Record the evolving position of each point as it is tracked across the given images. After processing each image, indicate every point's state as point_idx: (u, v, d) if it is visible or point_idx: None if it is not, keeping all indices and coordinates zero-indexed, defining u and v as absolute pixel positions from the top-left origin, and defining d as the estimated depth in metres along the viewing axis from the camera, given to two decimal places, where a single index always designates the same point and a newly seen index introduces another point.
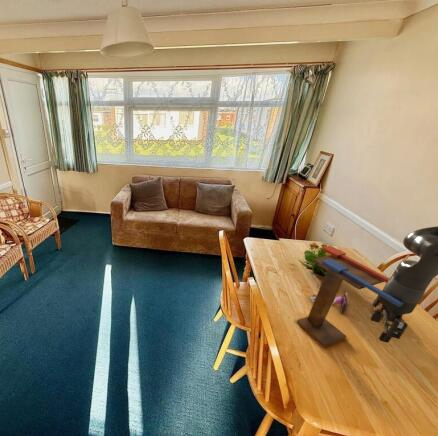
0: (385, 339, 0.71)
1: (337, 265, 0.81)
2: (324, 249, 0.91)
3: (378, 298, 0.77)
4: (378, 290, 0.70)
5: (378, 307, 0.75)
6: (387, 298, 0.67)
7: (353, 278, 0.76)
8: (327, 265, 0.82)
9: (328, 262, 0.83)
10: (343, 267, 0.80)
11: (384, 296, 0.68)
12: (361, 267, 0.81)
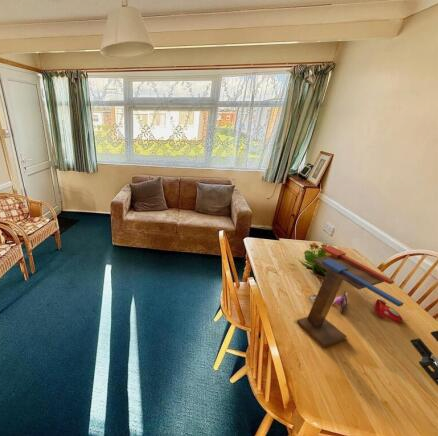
0: (418, 347, 0.59)
1: (337, 265, 0.81)
2: (324, 249, 0.91)
3: None
4: (378, 290, 0.70)
5: None
6: (387, 298, 0.67)
7: (353, 278, 0.76)
8: (327, 265, 0.82)
9: (328, 262, 0.83)
10: (343, 267, 0.80)
11: (384, 296, 0.68)
12: (361, 267, 0.81)
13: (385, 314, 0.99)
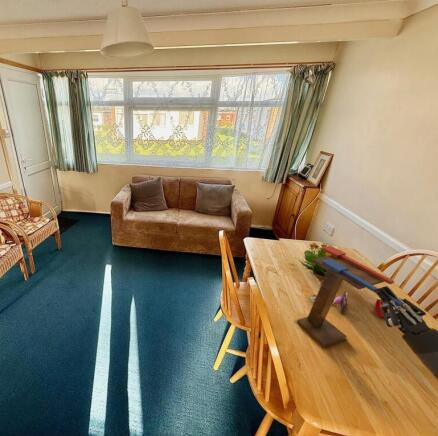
0: (381, 294, 0.68)
1: (337, 265, 0.81)
2: (324, 249, 0.91)
3: (418, 310, 0.65)
4: None
5: (412, 312, 0.64)
6: None
7: (353, 278, 0.76)
8: (327, 265, 0.82)
9: (328, 262, 0.83)
10: (343, 267, 0.80)
11: None
12: (361, 267, 0.81)
13: None
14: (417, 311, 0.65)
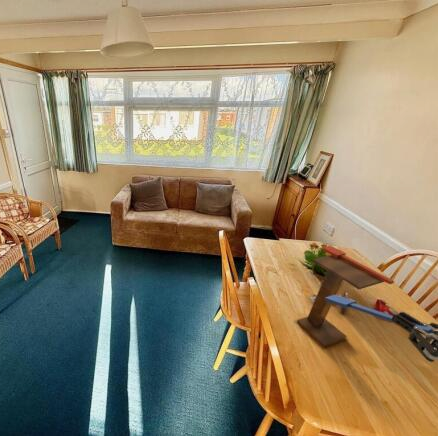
0: (400, 322, 0.56)
1: (342, 299, 0.70)
2: (324, 249, 0.91)
3: None
4: None
5: None
6: None
7: (364, 310, 0.64)
8: (331, 301, 0.71)
9: (332, 298, 0.72)
10: (350, 300, 0.69)
11: None
12: (361, 267, 0.81)
13: None
14: None
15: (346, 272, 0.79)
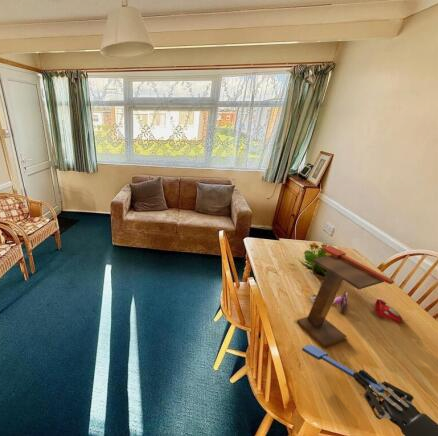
0: (358, 380, 0.66)
1: (316, 350, 0.81)
2: (324, 249, 0.91)
3: (404, 394, 0.62)
4: None
5: (395, 396, 0.61)
6: None
7: (333, 364, 0.74)
8: (307, 352, 0.82)
9: (308, 348, 0.83)
10: (322, 352, 0.79)
11: None
12: (361, 267, 0.81)
13: (385, 314, 0.99)
14: (403, 395, 0.62)
15: (346, 272, 0.79)
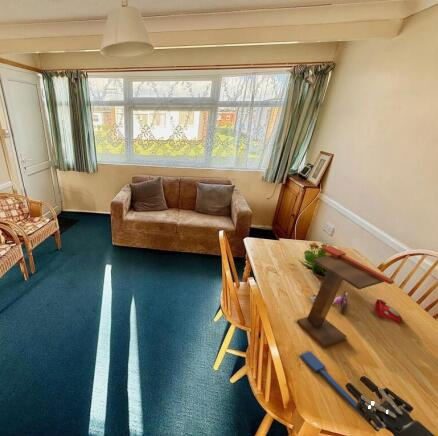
0: (351, 390, 0.67)
1: (314, 361, 0.82)
2: (324, 249, 0.91)
3: (403, 403, 0.63)
4: (352, 401, 0.71)
5: (392, 403, 0.63)
6: (360, 413, 0.68)
7: (329, 381, 0.76)
8: (305, 360, 0.83)
9: (306, 356, 0.83)
10: (320, 364, 0.81)
11: (357, 410, 0.69)
12: (361, 267, 0.81)
13: (385, 314, 0.99)
14: (402, 404, 0.63)
15: (346, 272, 0.79)
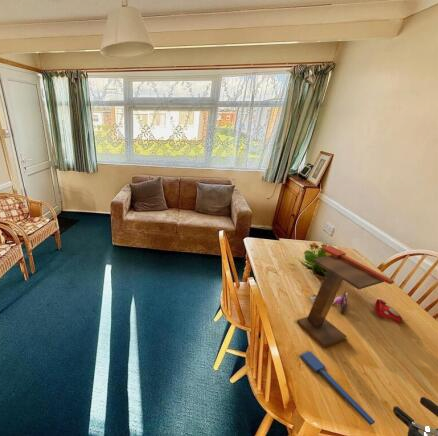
0: (399, 416, 0.57)
1: (314, 361, 0.82)
2: (324, 249, 0.91)
3: None
4: (352, 401, 0.71)
5: None
6: (360, 413, 0.68)
7: (329, 381, 0.76)
8: (305, 360, 0.83)
9: (306, 356, 0.83)
10: (320, 364, 0.81)
11: (357, 410, 0.69)
12: (361, 267, 0.81)
13: (385, 314, 0.99)
14: None
15: (346, 272, 0.79)
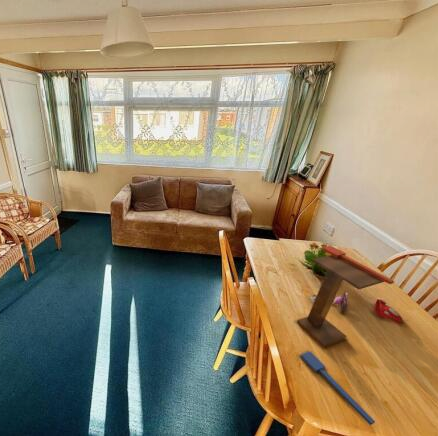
0: None
1: (314, 361, 0.82)
2: (324, 249, 0.91)
3: None
4: (352, 401, 0.71)
5: None
6: (360, 413, 0.68)
7: (329, 381, 0.76)
8: (305, 360, 0.83)
9: (306, 356, 0.83)
10: (320, 364, 0.81)
11: (357, 410, 0.69)
12: (361, 267, 0.81)
13: (385, 314, 0.99)
14: None
15: (346, 272, 0.79)
